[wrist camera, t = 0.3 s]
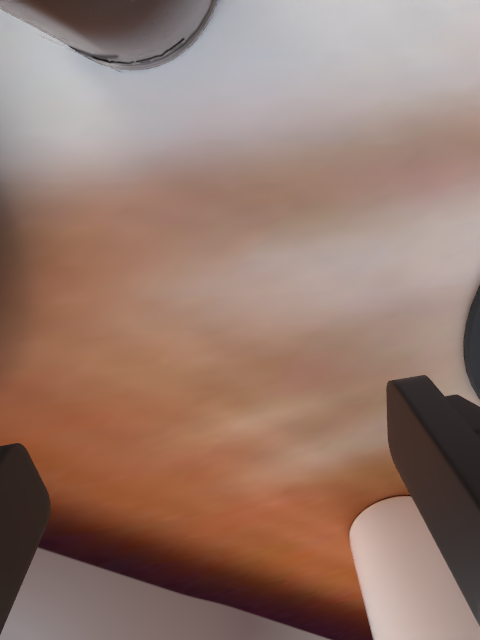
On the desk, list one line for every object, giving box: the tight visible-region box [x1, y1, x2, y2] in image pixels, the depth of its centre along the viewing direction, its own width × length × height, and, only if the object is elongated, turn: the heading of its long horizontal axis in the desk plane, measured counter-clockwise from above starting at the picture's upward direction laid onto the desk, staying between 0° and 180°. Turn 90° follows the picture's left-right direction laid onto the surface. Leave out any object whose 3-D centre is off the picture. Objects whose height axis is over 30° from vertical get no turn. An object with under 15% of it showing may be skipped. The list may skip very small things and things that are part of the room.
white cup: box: [349, 496, 480, 640], centre depth 31 cm, size 10×10×12 cm
